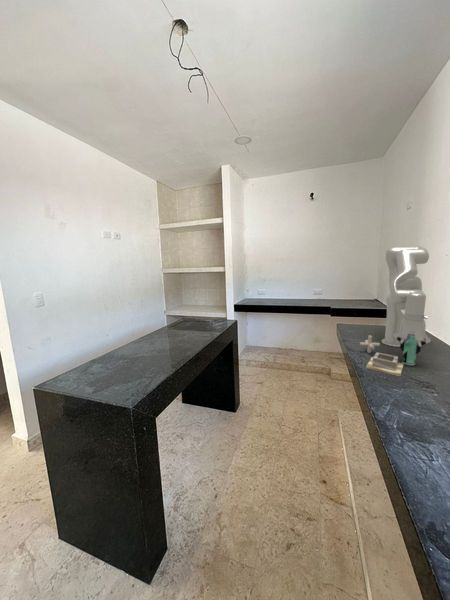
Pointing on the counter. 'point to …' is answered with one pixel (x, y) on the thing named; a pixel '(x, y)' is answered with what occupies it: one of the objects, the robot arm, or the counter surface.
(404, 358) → the spray can
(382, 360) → the collar block
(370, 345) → the pipe connector
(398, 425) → the counter surface
